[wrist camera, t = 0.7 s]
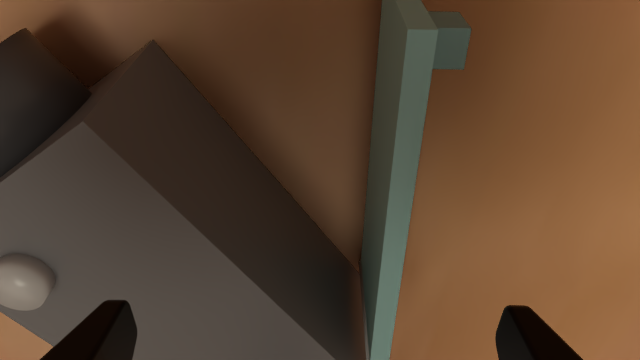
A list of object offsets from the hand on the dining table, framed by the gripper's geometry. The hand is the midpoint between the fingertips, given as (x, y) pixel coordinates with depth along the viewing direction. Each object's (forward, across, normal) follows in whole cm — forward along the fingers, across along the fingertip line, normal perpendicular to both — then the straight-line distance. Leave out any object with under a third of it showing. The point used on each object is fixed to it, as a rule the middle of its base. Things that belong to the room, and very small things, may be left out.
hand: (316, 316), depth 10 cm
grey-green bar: (+13, -3, +4) cm, 14 cm away
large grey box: (+13, +7, +7) cm, 16 cm away
